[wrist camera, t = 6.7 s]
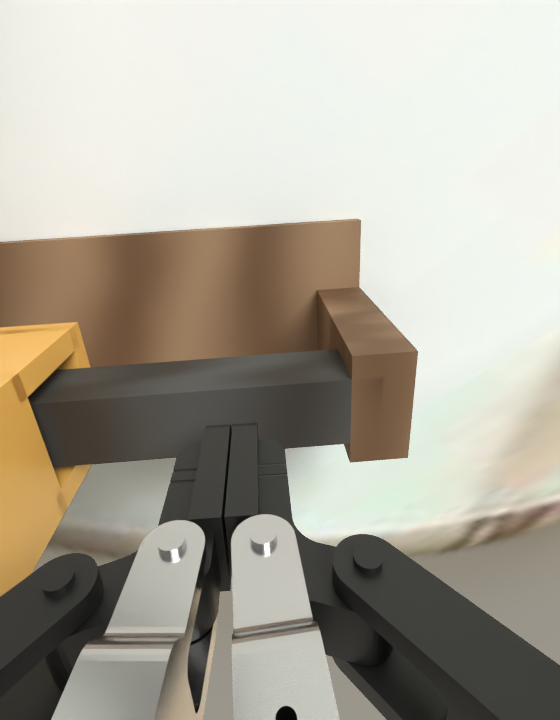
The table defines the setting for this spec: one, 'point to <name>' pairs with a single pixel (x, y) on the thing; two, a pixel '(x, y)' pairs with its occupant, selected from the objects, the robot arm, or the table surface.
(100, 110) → the table surface
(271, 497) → the robot arm
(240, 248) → the wooden slider rail stand
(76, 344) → the yellow slider block
